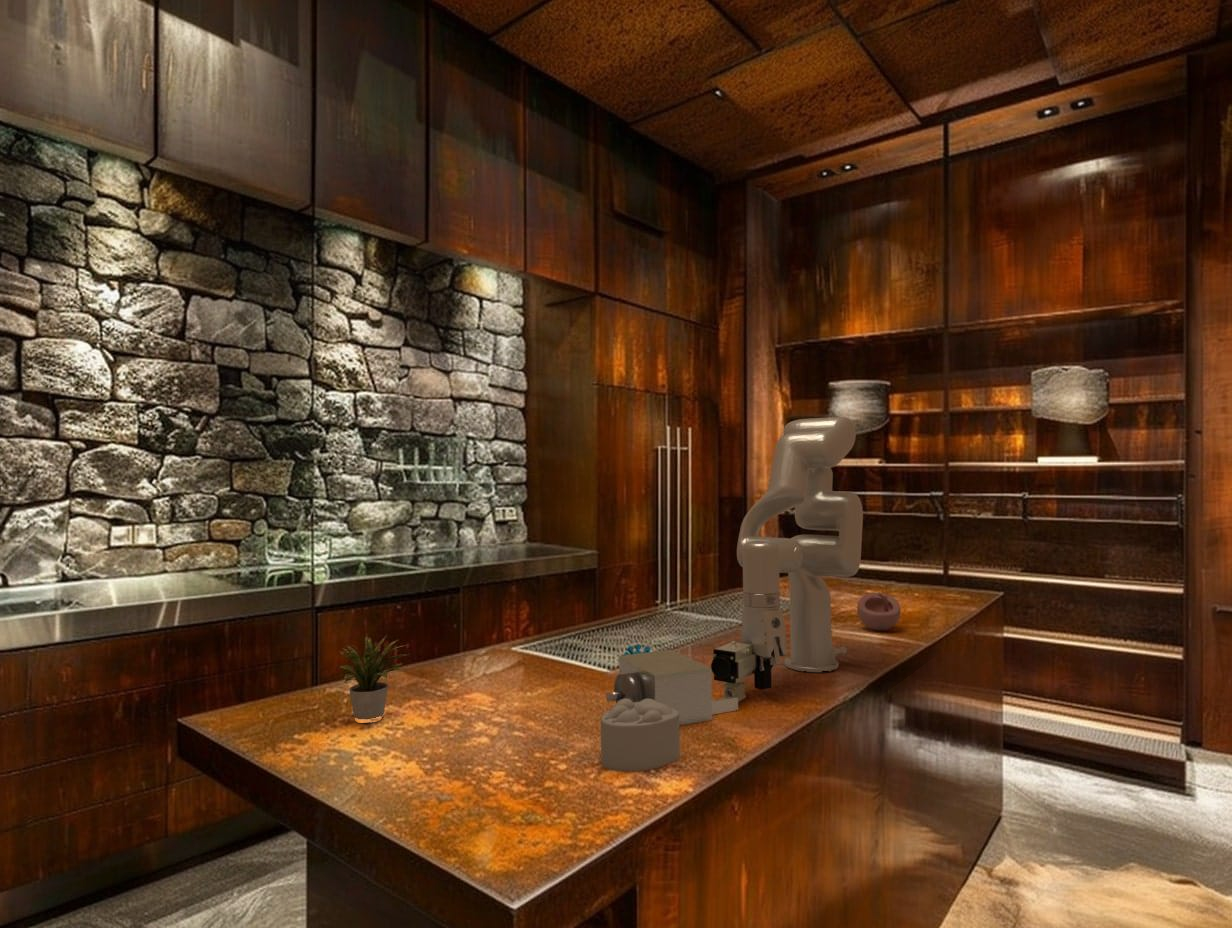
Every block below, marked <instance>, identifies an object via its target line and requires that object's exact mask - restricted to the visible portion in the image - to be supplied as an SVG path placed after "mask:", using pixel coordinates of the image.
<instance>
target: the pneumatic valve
mask: <svg viewBox="0 0 1232 928" xmlns="http://www.w3.org/2000/svg"><path fill="white" fill-rule="evenodd" d="M712 651H713V656H712V657H713V659H712V661H711V663H710V667H711V673H712V674H713V680H714V681H718V682H723V683H724V684H723V688H724V689H723V698H726V697H732V696H736V697H738V703H740V702H742V701H743V700H745V699H746V697H747V696H746V694H745V693H746V686H747V685H746V682H745V681H744V679H746V678H748V677H750V676H753V675H754V670H755V669H757V655H756V654H754V653H753V645H752V644H750V643H744V642H742V641H736V640H732V641H731V642H728V643H726V644H724V645H721V646H718V647H716V648H713V650H712ZM741 681H742V682H741Z"/></svg>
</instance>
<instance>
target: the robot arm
mask: <svg viewBox="0 0 1232 928" xmlns="http://www.w3.org/2000/svg"><path fill="white" fill-rule="evenodd" d="M856 431H857V430H856V427H855V425H854V423H853V421H852V420H851V418H848V417H846V416H834V417H832V416H831V417H816V418H815V417H814V418H799V419H795V420H792V421H790V422H788V423H786V425H785V426H784V427H783V431H782V432H783V435H782V436H781V437H779V438H778V440H777V442H776V444H775V448H774V453H773V454H774V455H773V459H772V465H771V469H770V470H771V471H770V475H769V476H770V477H769V481H768V486H767V491H766V493H765V494H763V496H761V497H760V498H759V499H758V500H757V501H756V502H755V503H754V504H753V505H752V506H751V507H750V509H749V510H748V511H747V513H746V514H745V516H744V517H743V520H742V522H741V525H740V530H739V534H738V538H737V539H738V540H737V546H736V559H737V562H738V564H739V565H740V567H742V589H743V590H742V591H743V592H742V595H743V597H742V598H743V600H742V602H743V609H742V615H741V629H740V630H741V642H744V643H750V644H752V645H753V653H754V654H756V655H757V669H755V670H754V674H753V675H754V676H753V677H754V681H753V682H754V683H753V684H754V686H753V687H754V688H755V689H758V690H759V691H763V690H769V689H771V688H772V684H773V683H772V671H773V669H774V666H778V665H781V657H785V656H786V655H787V636H786V635H787V634H786V625H785V619H784V613H783V610H782V608H781V599H780V596H781V593H780V591H781V590H780V589H781V588H780V574H788V575H787V576H788V582H789V584H788V585H789V617H790V618H789V620H790V621H789V622H790V623H789V625H790V627H789V628H790V655H789V656H786V657H785V659H784V666H785V667H787V668H789V669H792V670H794V671H799V672H804V671H806V672H805V673H823V672H822V671H829V672H832V671H831V670H834V669H836V670H838V669H837V668H839V666H840V663H839V661H838V660H837V657H838V656H839V657H840V656H847V655H848V649H847V647H845V646H842V647H841V646H840V647H836V646H833V645H832V613H831V611H832V608H831V607H832V605H831V603H832V602H831V592H830V589H829V587H828V585H827V583H826V582H825V580H824V578H822V577H821V576H825V577H826V576H827V577H828V576H829V577H840V578H841V577H843V578H845V577H847V578H848V577H853V576H855V575H857V573H858V571H859V569H860V564H861V559H862V558H861V557H862V543H863V542H862V541H863V523H864V521H863V520H864V514H863V513H864V511H863V504H862V500H861V498H860V497H859V495H857V494H856V493H855V492H852V491H847V490H846V491H843V490H838V491H837V490H836V491H835V490H833V478H834V476H833V475H834V472H833V470H832V468H834V467H836V466H838V465H839V464H840V463H841V462H842V460H843V459H844V458H845V457H847V456H846V455H848V454H849V453H850V451H851V450H852V449H853V447H854V445H855V442H856V438H857V437H856V436H857V434H856V433H857V432H856ZM793 508H794V519H795V523H796V525H797V526H799V527H800V528H801V529H805V530H812V531H813V530H814V531H837V532H839V533H838V535H824V534H798V535H795V536H793V537H791V538H786V537H773V536H772V537H770V536H759V534H760V532H761V529H762V528H763V526H764V525H765V524H767V522H768V521H769V520H771V519H772V518H774V517H775V516H778V515H780V514H782V513H784V512H787V511H789V510H791V509H793ZM834 671H835V670H834Z"/></svg>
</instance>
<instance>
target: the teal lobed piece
mask: <svg viewBox="0 0 1232 928" xmlns="http://www.w3.org/2000/svg"><path fill="white" fill-rule="evenodd" d="M634 649H635V651H634ZM641 649H642V644H639V643H636V644H635V646H633V645H630V646H628V647H627V648H626V650H627V651H625V652H624V653H623V655H631V654H639V653H647V652H651V649H652V648H651V647H649V646H648V645H646V646H645V647H644V649H643V651H640V650H641Z"/></svg>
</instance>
